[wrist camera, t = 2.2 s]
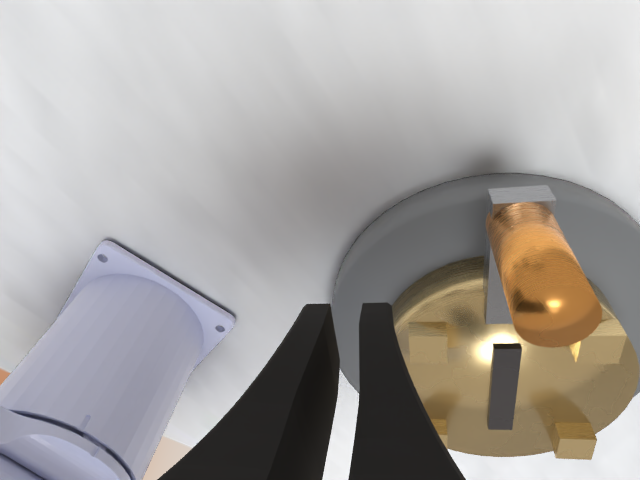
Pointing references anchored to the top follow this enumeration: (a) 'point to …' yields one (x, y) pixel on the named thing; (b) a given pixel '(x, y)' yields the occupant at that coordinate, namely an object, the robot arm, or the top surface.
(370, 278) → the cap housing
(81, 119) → the top surface
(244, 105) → the top surface
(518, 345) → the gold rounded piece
